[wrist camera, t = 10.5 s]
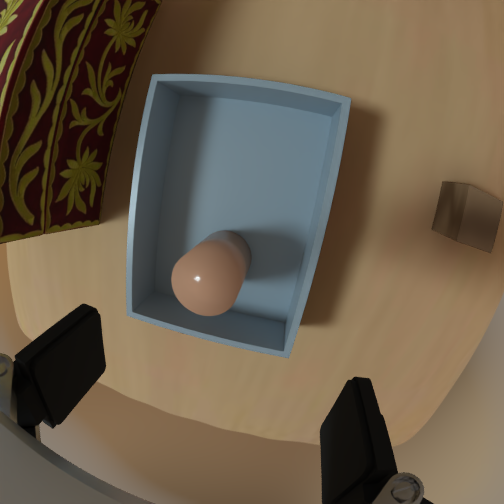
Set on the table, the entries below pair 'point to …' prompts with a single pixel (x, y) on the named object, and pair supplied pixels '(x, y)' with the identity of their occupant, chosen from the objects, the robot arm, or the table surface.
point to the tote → (233, 199)
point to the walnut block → (467, 215)
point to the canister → (212, 273)
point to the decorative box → (62, 106)
